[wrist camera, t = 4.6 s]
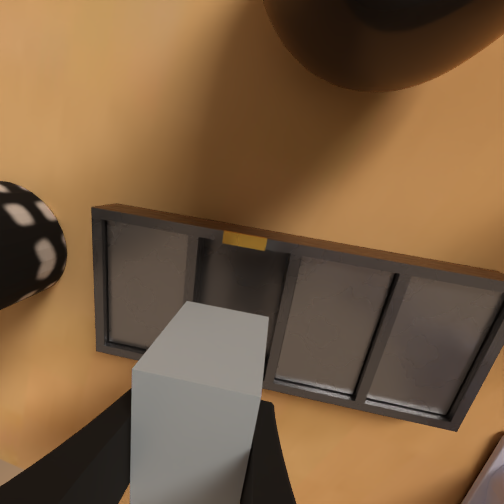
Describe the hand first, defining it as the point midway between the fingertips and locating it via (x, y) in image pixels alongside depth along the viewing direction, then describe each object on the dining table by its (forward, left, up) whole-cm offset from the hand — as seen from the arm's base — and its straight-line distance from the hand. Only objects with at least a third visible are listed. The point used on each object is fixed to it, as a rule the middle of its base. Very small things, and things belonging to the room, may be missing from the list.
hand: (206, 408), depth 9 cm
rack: (0, -3, -8) cm, 9 cm away
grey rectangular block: (0, 0, -2) cm, 2 cm away
